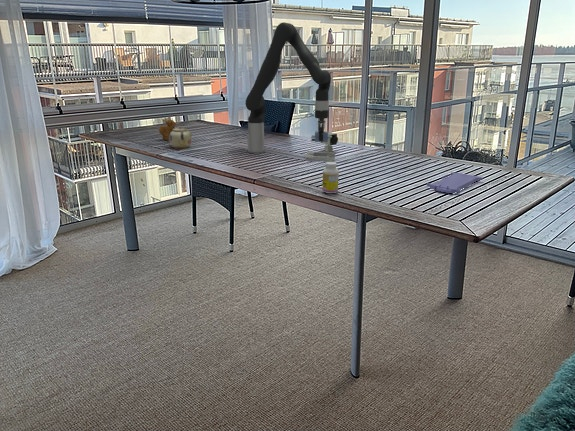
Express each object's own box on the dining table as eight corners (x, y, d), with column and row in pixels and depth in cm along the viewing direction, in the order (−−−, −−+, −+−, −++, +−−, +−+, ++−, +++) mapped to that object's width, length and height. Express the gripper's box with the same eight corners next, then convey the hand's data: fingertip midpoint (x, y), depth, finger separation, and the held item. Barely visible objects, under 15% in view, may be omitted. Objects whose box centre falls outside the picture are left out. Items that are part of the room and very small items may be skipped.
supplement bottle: (321, 190, 202) (322, 161, 197) (336, 190, 202) (337, 161, 198) (323, 194, 195) (324, 164, 191) (339, 194, 196) (340, 164, 192)
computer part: (423, 190, 203) (456, 197, 194) (424, 181, 202) (457, 187, 193) (451, 177, 225) (482, 182, 215) (452, 168, 223) (484, 174, 214)
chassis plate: (305, 160, 256) (305, 156, 255) (307, 154, 270) (307, 151, 269) (334, 161, 254) (334, 157, 253) (335, 155, 268) (335, 152, 267)
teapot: (164, 147, 291) (161, 125, 286) (182, 143, 300) (180, 123, 295) (181, 151, 277) (179, 129, 273) (200, 148, 286) (198, 126, 281)
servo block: (311, 141, 257) (311, 132, 256) (311, 140, 262) (311, 131, 260) (331, 142, 256) (331, 133, 254) (331, 140, 260) (331, 131, 259)
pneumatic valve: (332, 153, 273) (332, 133, 269) (319, 150, 282) (319, 130, 278) (339, 152, 276) (339, 132, 272) (326, 149, 285) (326, 129, 281)
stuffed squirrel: (183, 139, 315) (181, 119, 311) (168, 142, 304) (166, 122, 300) (172, 137, 320) (170, 118, 316) (157, 141, 309) (155, 121, 304)
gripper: (315, 107, 260) (315, 137, 266) (314, 110, 247) (313, 142, 252) (329, 107, 259) (328, 138, 265) (328, 110, 246) (327, 142, 251)
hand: (321, 140), depth 259 cm, fingers closed on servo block, 4 cm apart
